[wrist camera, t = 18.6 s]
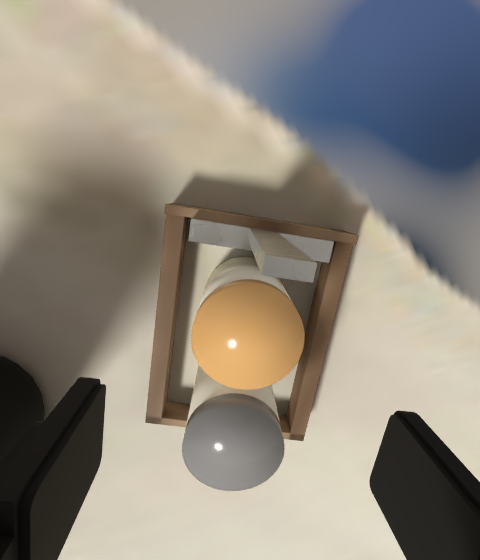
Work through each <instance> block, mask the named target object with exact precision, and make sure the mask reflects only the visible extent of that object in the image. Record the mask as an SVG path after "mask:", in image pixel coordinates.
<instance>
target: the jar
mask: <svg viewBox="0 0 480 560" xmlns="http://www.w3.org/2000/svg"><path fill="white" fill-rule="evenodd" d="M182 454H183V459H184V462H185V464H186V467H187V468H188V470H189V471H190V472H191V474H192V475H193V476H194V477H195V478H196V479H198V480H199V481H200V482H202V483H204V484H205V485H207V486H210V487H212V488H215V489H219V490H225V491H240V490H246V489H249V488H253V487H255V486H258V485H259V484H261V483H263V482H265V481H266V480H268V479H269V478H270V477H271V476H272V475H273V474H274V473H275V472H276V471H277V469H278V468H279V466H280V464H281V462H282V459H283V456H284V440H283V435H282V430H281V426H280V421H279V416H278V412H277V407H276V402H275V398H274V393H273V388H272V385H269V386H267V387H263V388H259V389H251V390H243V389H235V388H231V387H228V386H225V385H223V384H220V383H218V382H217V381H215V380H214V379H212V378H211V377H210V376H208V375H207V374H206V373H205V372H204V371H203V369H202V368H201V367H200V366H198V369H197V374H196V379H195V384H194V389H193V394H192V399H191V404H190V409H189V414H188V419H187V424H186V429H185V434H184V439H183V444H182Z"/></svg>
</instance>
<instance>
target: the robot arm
mask: <svg viewBox="0 0 480 560" xmlns="http://www.w3.org/2000/svg"><path fill="white" fill-rule="evenodd" d="M105 395H106V386H105V385H104V384H100V380H99V379H94V378H85V377H80V378H78V379H77V381H76V382H75V383H74V384H73V386H72V387H71V388H70V389H69V391H68V392H67V393H66V395H65V396H64V397H63V398H62V400H61V401H60V402H59V403H58V405H57V406H56V407H55V408H54V410H53V411H52V412H51V413H50V415H49V416H48V417H47V418H46V420H45V421H36V422H34V423H33V424H32V425H31V426H30V427H29V428H28V430H27V431H26V432H25V433H24V434H23V436H22V437H21V438H20V439H19V440H18V442H17V443H16V444H15V445H14V446H13V448H12V449H11V450H10V451H9V452H8V454H7V455H6V456H5V457H4V458H3V460H2V461H1V462H0V560H57V559H58V557H59V555H60V552H61V550H62V548H63V546H64V544H65V541H66V539H67V537H68V535H69V533H70V530H71V528H72V526H73V524H74V522H75V519H76V517H77V515H78V513H79V511H80V508H81V506H82V504H83V502H84V500H85V497H86V495H87V493H88V491H89V489H90V486H91V484H92V482H93V480H94V478H95V475H96V473H97V471H98V468H99V466H100V462H101V457H102V443H103V427H104V411H105ZM370 488H371V491H372V493H373V495H374V497H375V499H376V501H377V503H378V505H379V507H380V509H381V510H382V512H383V514H384V516H385V518H386V520H387V522H388V524H389V526H390V528H391V530H392V532H393V534H394V536H395V538H396V540H397V542H398V544H399V546H400V548H401V549H402V551H403V553H404V555H405V557H406V559H407V560H480V482H479V481H478V480H477V479H476V478H475V477H474V475H473V474H472V473H471V472H470V471H469V470H468V469H467V468H466V467H465V466H464V464H463V463H462V462H461V461H460V460H459V459H458V458H457V457H456V456H455V455H454V453H453V452H452V451H451V450H450V449H449V448H448V447H447V446H446V445H445V444H444V442H443V441H442V440H441V439H440V438H439V437H438V436H437V435H436V434H435V433H434V431H433V430H432V429H431V428H430V427H429V426H428V425H427V424H426V423H425V422H424V420H423V419H422V418H421V417H420V416H419V415H418V414H417V413H414V412H407V411H396V412H395V413H394V415H391V416H390V418H389V421H388V424H387V427H386V430H385V433H384V436H383V439H382V442H381V445H380V448H379V452H378V455H377V458H376V461H375V464H374V467H373V470H372V473H371V476H370Z"/></svg>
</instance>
